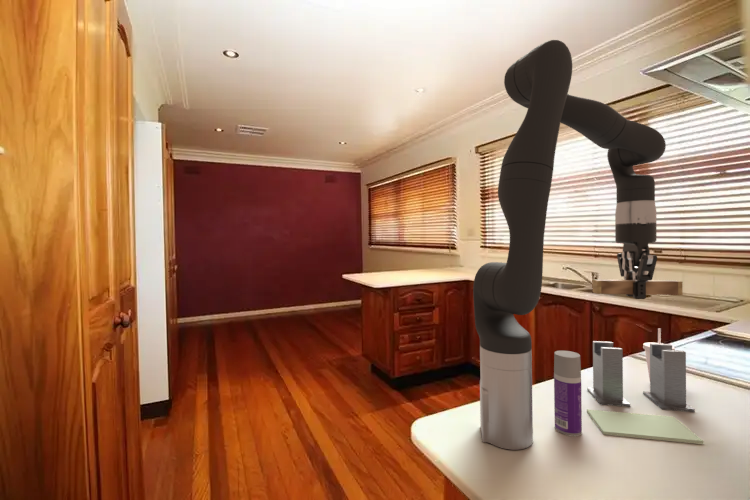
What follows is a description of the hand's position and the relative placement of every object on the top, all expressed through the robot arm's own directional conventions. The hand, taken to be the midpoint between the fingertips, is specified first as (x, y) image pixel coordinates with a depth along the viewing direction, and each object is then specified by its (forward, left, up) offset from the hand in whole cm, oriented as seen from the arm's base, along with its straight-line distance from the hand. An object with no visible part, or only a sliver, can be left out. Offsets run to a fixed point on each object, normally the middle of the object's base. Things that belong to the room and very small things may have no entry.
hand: (635, 297), depth 80 cm
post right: (+6, 0, -24) cm, 25 cm away
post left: (-6, 0, -24) cm, 25 cm away
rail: (0, 0, +1) cm, 1 cm away
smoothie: (+10, +12, -24) cm, 29 cm away
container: (-19, -17, -24) cm, 35 cm away
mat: (-5, -13, -24) cm, 27 cm away
